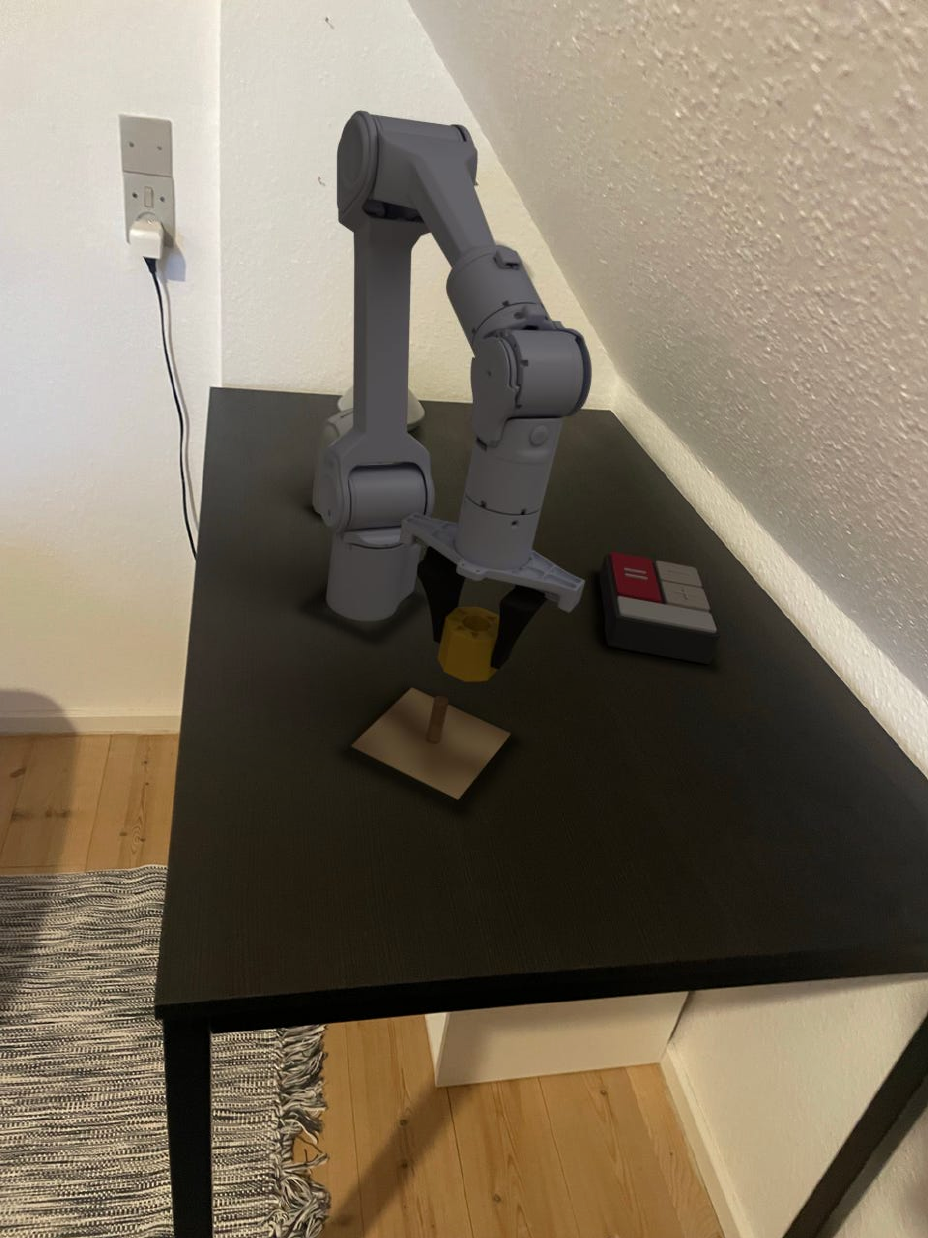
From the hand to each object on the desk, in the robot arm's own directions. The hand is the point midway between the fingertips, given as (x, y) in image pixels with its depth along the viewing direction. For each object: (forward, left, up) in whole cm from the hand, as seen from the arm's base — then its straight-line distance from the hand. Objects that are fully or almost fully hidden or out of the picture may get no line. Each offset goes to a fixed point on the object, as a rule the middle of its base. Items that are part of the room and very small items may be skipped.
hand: (470, 649), depth 75 cm
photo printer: (-30, -30, -10) cm, 44 cm away
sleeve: (0, 0, -1) cm, 1 cm away
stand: (+2, -1, -10) cm, 10 cm away
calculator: (-32, +8, -10) cm, 35 cm away
